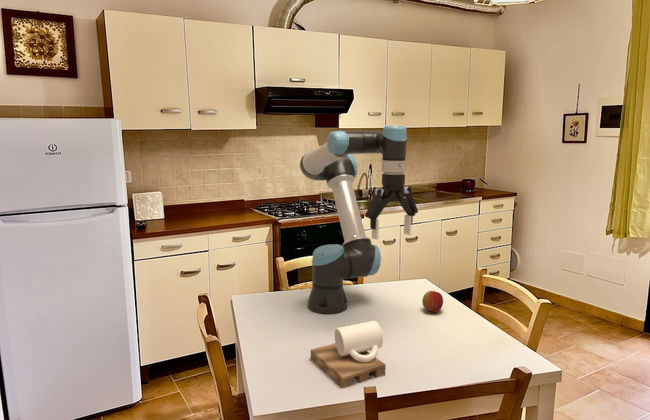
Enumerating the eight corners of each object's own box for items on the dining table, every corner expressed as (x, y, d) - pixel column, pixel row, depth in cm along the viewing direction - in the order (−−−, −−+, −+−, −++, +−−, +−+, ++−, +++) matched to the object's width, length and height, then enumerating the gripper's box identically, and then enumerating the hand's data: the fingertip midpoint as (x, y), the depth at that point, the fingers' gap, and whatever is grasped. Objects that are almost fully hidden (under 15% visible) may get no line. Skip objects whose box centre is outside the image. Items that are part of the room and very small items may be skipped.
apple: (447, 312, 176) (448, 292, 175) (432, 317, 171) (433, 296, 170) (432, 306, 182) (433, 286, 181) (417, 310, 178) (418, 290, 176)
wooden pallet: (310, 358, 140) (310, 349, 140) (350, 348, 147) (350, 339, 147) (342, 388, 125) (342, 377, 124) (385, 374, 132) (385, 364, 131)
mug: (385, 365, 136) (346, 374, 133) (369, 332, 145) (333, 339, 141) (390, 348, 131) (350, 357, 128) (374, 315, 140) (336, 322, 136)
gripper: (368, 176, 145) (367, 243, 149) (430, 172, 158) (427, 234, 162) (355, 173, 152) (354, 238, 156) (415, 170, 164) (412, 230, 168)
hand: (391, 236), depth 159 cm, fingers open, 13 cm apart
